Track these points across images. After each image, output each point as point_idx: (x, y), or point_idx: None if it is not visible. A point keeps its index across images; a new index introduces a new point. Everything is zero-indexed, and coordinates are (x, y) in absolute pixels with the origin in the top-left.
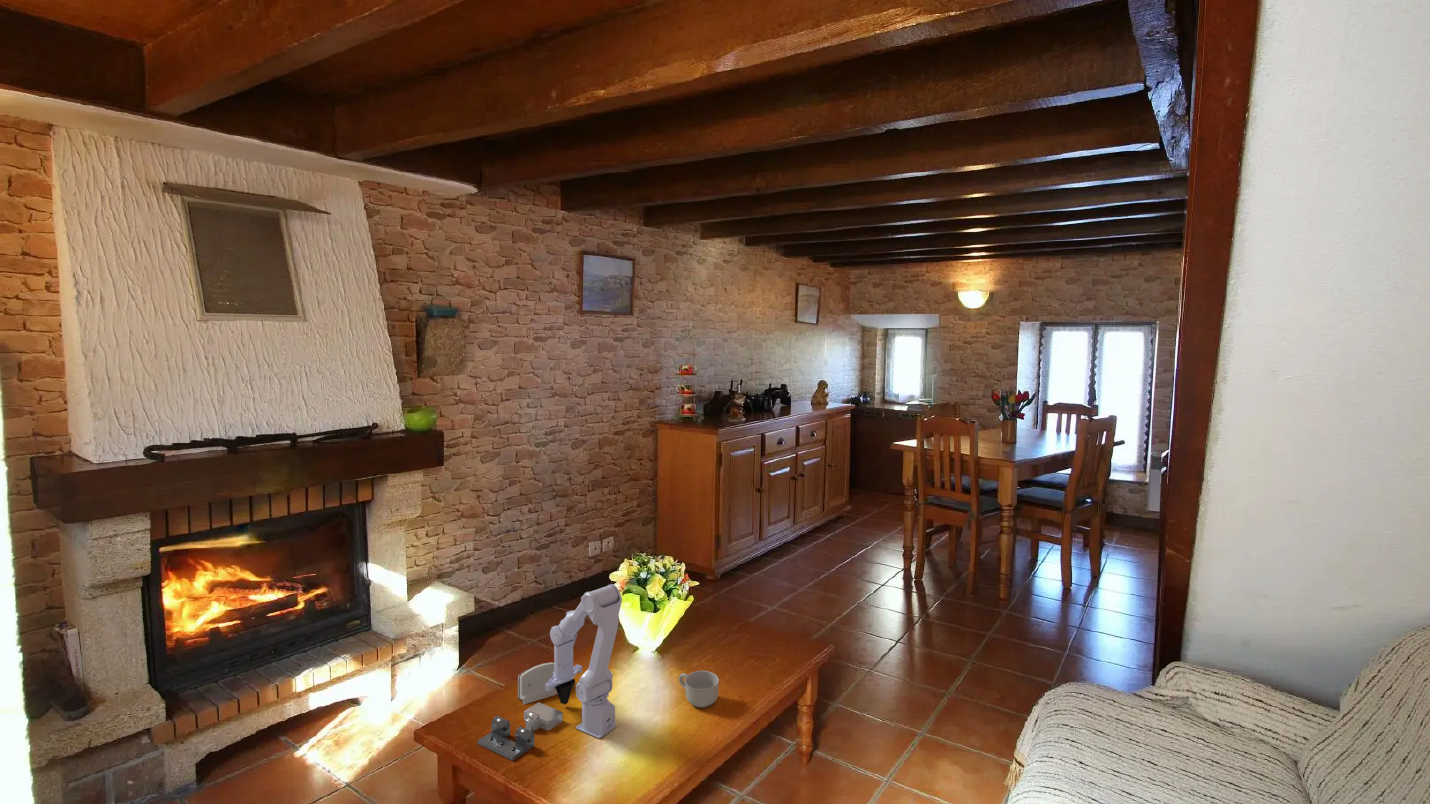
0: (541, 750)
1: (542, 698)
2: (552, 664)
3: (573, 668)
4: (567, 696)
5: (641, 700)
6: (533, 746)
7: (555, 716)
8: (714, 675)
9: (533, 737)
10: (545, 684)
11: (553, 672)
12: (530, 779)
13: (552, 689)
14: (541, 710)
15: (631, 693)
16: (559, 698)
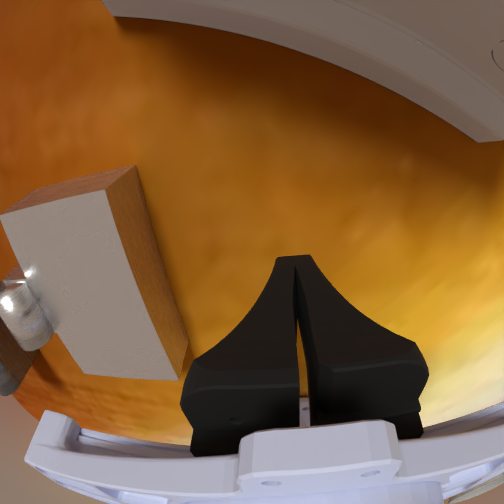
0: (55, 374)
1: (263, 39)
2: None
3: (494, 469)
4: (302, 342)
5: (466, 404)
6: (36, 350)
7: (128, 376)
8: (502, 481)
9: (22, 375)
10: (30, 463)
11: (260, 480)
12: (24, 398)
13: (379, 57)
14: (81, 291)
15: (501, 366)
16: (271, 275)
